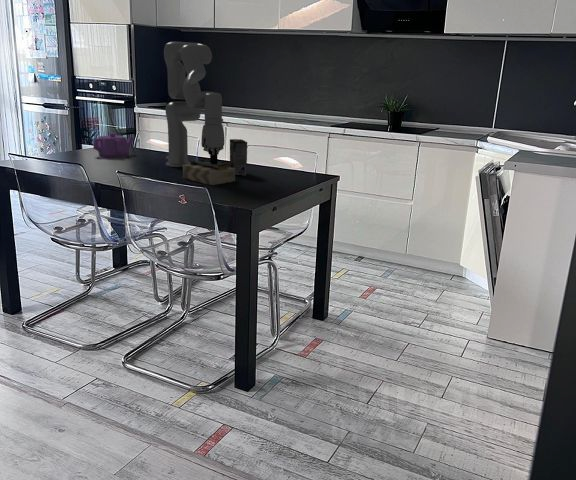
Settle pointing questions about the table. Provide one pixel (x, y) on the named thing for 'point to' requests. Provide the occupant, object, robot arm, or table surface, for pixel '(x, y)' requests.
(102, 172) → the table surface
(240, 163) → the coffee box
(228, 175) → the block
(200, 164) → the bar
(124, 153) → the teakettle
